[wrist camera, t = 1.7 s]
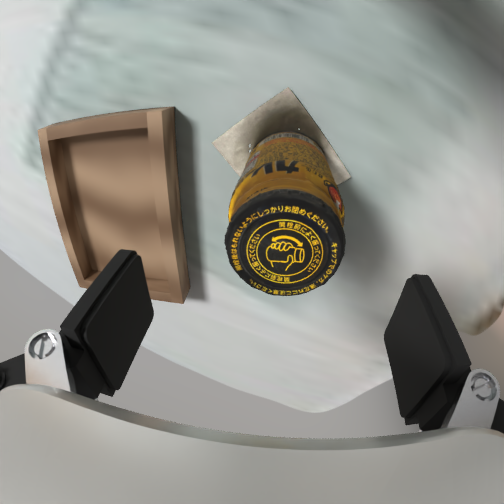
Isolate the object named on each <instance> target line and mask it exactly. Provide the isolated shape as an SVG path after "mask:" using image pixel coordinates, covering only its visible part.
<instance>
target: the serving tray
mask: <svg viewBox="0 0 504 504" xmlns="http://www.w3.org/2000/svg"><path fill="white" fill-rule="evenodd" d="M38 136H39V142H40V148H41V154H42V160H43V165H44V170H45V175H46V179H47V184H48V188H49V192H50V196H51V200H52V204H53V208H54V212H55V215H56V219H57V222H58V226H59V229H60V232H61V236H62V239H63V242H64V245H65V248H66V251H67V254H68V257H69V260H70V263H71V265H72V268H73V271H74V273H75V276H76V279H77V281H78V284H79V286H80V287H82V288H87V289H88V288H89V286H90V285H91V284H92V283H93V281H94V280H95V279H96V278H97V276H98V275H99V274H100V273H101V271H102V270H103V269H104V268H105V266H106V265H107V264H108V263H109V261H110V260H111V259H112V258H113V257H114V255H115V254H116V253H117V252H118V251H119V250H120V249H125V250H134V251H136V252H137V254H138V255H140V256H141V258H142V263H143V268H144V272H145V277H146V281H147V286H148V290H149V294H150V298H151V299H153V300H159V301H166V302H173V303H181V304H184V301H185V299H186V296H187V294H188V292H189V289H190V283H189V275H188V268H187V260H186V252H185V243H184V234H183V225H182V215H181V205H180V194H179V182H178V168H177V154H176V136H175V114H174V107H162V108H150V109H140V110H131V111H123V112H115V113H108V114H102V115H95V116H90V117H84V118H79V119H73V120H69V121H64V122H59V123H55V124H52V125H49V126H47V127H44V128H42V129H39V130H38Z"/></svg>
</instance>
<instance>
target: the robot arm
mask: <svg viewBox="0 0 504 504" xmlns="http://www.w3.org/2000/svg"><path fill="white" fill-rule="evenodd" d="M153 316H154V311H153V306H152V302H151V298H150V294H149V290H148V286H147V281H146V277H145V272H144V268H143V263H142V258H141V256H140V255H138V254H137V252H136V251H134V250H125V249H120V250H119V251H118V252H117V253H116V254H115V255H114V257H113V258H112V259H111V260H110V261H109V263H108V264H107V265H106V266H105V268H104V269H103V270H102V271H101V273H100V274H99V275H98V276H97V278H96V279H95V280H94V281H93V283H92V284H91V285H90V286H89V288H88V289H87V290H86V292H85V293H84V294H83V295H82V297H81V298H80V299H79V301H78V302H77V303H76V305H75V306H74V307H73V309H72V310H71V312H70V313H69V314H68V316H67V317H66V318H65V320H64V321H63V323H62V324H61V326H60V327H61V331H60V332H59V333H58V332H57V331H55V330H52V329H44V330H41V331H38V332H36V333H35V334H34V335H32V336H31V337H30V339H29V340H28V341H27V343H26V346H25V353H24V354H22V355H19V356H17V357H14V358H12V359H9V360H7V361H4V362H2V363H0V504H504V401H503V400H501V399H500V398H499V396H500V387H499V384H498V381H497V380H496V378H495V377H494V375H493V374H491V373H490V372H489V371H487V370H484V369H479V368H478V369H475V370H473V371H471V369H470V365H471V361H470V359H469V357H468V354H467V352H466V349H465V347H464V345H463V342H462V340H461V338H460V336H459V334H458V331H457V329H456V327H455V325H454V323H453V321H452V319H451V317H450V315H449V313H448V311H447V309H446V307H445V305H444V303H443V301H442V299H441V297H440V295H439V293H438V291H437V289H436V287H435V286H434V284H433V282H432V280H431V278H430V277H429V276H428V275H418V274H414V275H412V277H411V278H408V279H407V281H406V283H405V286H404V288H403V291H402V293H401V296H400V298H399V301H398V303H397V306H396V308H395V310H394V313H393V315H392V317H391V319H390V322H389V324H388V326H387V328H386V330H385V334H384V341H385V345H386V349H387V354H388V358H389V362H390V366H391V371H392V375H393V380H394V385H395V389H396V394H397V399H398V405H399V410H400V415H401V417H403V418H405V424H406V425H411V424H418V423H419V427H420V430H419V432H417V433H409V434H401V435H391V436H379V437H366V438H343V439H342V438H340V439H311V438H309V439H307V438H285V437H270V436H258V435H249V434H240V433H233V432H225V431H219V430H212V429H206V428H201V427H195V426H190V425H185V424H180V423H176V422H171V421H166V420H162V419H158V418H154V417H150V416H146V415H142V414H139V413H135V412H132V411H128V410H125V409H121V408H118V407H115V406H111V405H108V404H105V403H102V402H99V401H98V396H99V394H100V393H102V394H105V395H108V396H111V397H112V396H113V395H114V393H115V390H119V389H120V387H121V385H122V383H123V381H124V379H125V376H126V374H127V372H128V370H129V368H130V366H131V364H132V361H133V359H134V357H135V355H136V353H137V351H138V349H139V346H140V344H141V342H142V340H143V338H144V336H145V334H146V332H147V330H148V328H149V326H150V324H151V322H152V320H153Z"/></svg>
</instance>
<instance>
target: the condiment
mask: <svg viewBox="0 0 504 504" xmlns="http://www.w3.org/2000/svg"><path fill="white" fill-rule="evenodd" d="M298 128H300V130H298ZM212 144H213V145H214V146H215V147H216V149H217V150H218V151H219V152H220V154H221V155H222V156H223V157H224V158H225V159H226V161H227V162H228V163H229V164H230V165H231V166H232V168H233V169H234V170H235V172H236V173H237V174H238V175H239V176H240V179H239V180H238V183H237V185H236V188H235V190H234V192H233V194H232V198H231V202H230V205H229V214H228V218H229V226H228V228H227V232H226V235H225V246H226V250H227V254H228V258H229V262H230V264H231V266H232V268H233V269H234V270H235V272H236V273H237V274H238V275H239V276H240V278H242V279H243V280H244V281H245V282H246V283H247V284H249V285H250V286H251V287H253V288H256V289H258V290H261V291H263V292H265V293H267V294H271V295H279V296H293V295H300V294H303V293H307V292H309V291H311V290H313V289H315V288H317V287H319V286H321V285H324V284H325V283H326V282H327V281H328V280H329V279H330V278H331V277H332V276H333V275H334V274H335V272H336V271H337V269H338V267H339V265H340V263H341V260H342V258H343V256H344V251H345V244H346V242H345V234H344V231H343V225H344V205H343V201H342V199H341V195H340V193H339V190H338V187H337V185H339V184H340V183H342V182H344V181H346V180H347V179H349V178H350V177H351V176H350V175H349V173H348V171H347V170H346V168H345V167H344V165H343V163H342V162H341V160H340V159H339V157H338V156H337V154H336V153H335V151H334V150H333V148H332V147H331V145H330V144H329V142H328V141H327V139H326V138H325V136H324V135H323V133H322V132H321V130H320V129H319V128H318V126H317V125H316V123H315V122H314V121H313V119H312V118H311V116H310V115H309V114H308V112H307V111H306V110H305V108H304V107H303V106H302V104H301V103H300V102H299V100H298V99H297V98H296V96H295V95H294V94H293V92H292V91H291V90H290V89H289V87H288V88H286V89H285V90H283V91H282V92H280V93H279V94H277V95H276V96H274V97H273V98H272V99H270V100H269V101H267V102H266V103H264V104H263V105H262V106H260V107H259V108H257V109H256V110H255V111H253V112H252V113H250V114H249V115H248V116H246V117H245V118H244V119H243V120H241V121H240V122H238V123H237V124H236V125H234V126H233V127H232V128H230V129H229V130H228V131H226V132H225V133H224V134H223V135H221V136H220V137H219V138H217V139H216V140H215V141H214V142H212ZM249 144H251V147H250V148H249ZM250 149H251V152H250V153H249V150H250Z"/></svg>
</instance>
